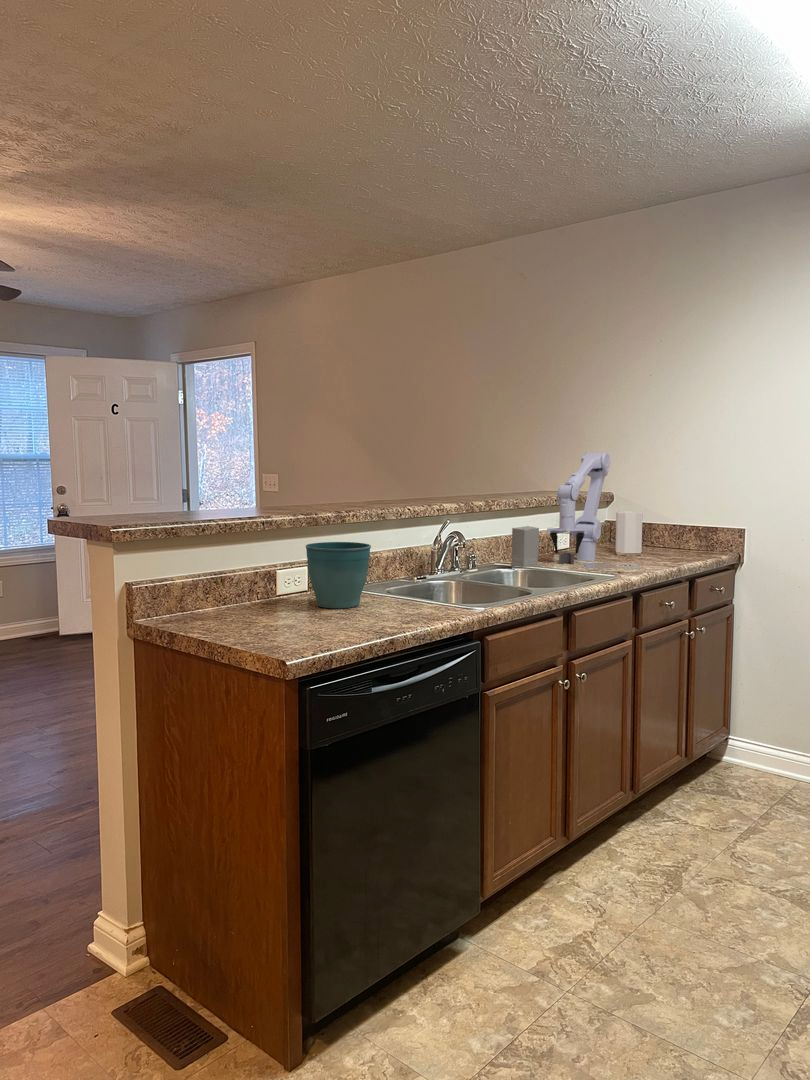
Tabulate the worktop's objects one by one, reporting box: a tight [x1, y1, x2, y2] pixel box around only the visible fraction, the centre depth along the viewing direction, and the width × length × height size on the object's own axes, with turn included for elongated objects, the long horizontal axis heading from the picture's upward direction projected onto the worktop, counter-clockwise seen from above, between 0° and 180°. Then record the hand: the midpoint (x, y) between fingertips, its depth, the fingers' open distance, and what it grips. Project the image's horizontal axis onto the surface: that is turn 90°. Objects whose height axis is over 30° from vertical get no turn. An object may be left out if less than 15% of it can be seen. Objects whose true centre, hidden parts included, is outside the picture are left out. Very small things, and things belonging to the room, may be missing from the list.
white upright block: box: [614, 510, 644, 553], centre depth 344 cm, size 11×11×18 cm
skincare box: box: [510, 525, 540, 568], centre depth 298 cm, size 8×7×16 cm
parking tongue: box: [554, 561, 579, 566], centre depth 304 cm, size 8×8×2 cm
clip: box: [558, 551, 575, 566], centre depth 304 cm, size 5×5×4 cm
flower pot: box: [305, 541, 372, 609], centre depth 223 cm, size 18×18×17 cm
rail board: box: [581, 562, 644, 570], centre depth 298 cm, size 14×20×2 cm
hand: (566, 552), depth 303 cm, fingers open, 7 cm apart
